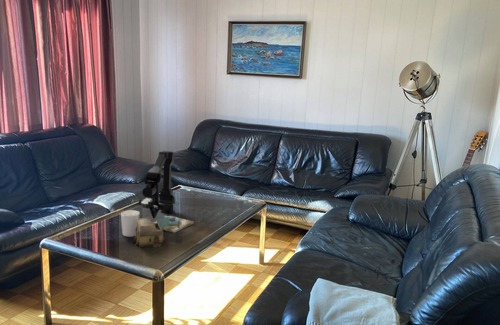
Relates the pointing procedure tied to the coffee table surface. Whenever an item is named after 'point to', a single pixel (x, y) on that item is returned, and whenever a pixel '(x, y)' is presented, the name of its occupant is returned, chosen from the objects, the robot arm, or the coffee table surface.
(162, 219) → the flange
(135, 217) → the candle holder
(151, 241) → the miniature house
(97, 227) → the coffee table surface
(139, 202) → the robot arm
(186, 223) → the post board
